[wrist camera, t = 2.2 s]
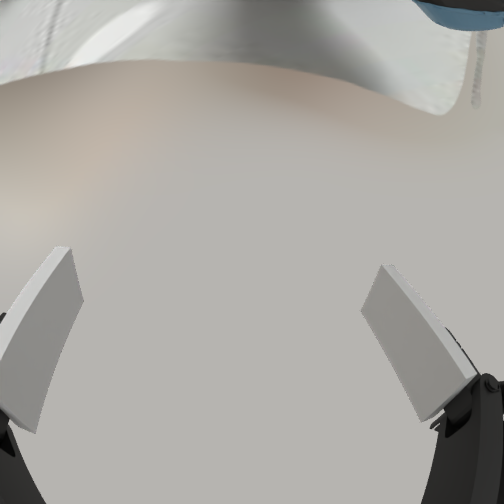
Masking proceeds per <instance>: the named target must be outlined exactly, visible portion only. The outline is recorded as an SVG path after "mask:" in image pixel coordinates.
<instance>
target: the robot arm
mask: <svg viewBox="0 0 504 504" xmlns="http://www.w3.org/2000/svg"><path fill="white" fill-rule="evenodd" d="M412 1H413V2H415V3H416V4H417V5H418V6H419V7H420V8H421V10H422V11H423V12H424V13H425V14H426V15H427V16H428V17H429V18H430V19H431V20H432V21H434V22H435V23H437V24H439V25H441V26H444V27H447V28H450V29H454V30H461V31H484V30H492V29H497V28H501V27H503V25H504V0H412ZM83 302H84V300H83V297H82V293H81V289H80V285H79V281H78V278H77V273H76V269H75V265H74V260H73V256H72V250H71V247H60V246H56V247H55V248H54V249H53V250H52V252H51V253H50V254H49V255H48V257H47V258H46V259H45V260H44V262H43V263H42V264H41V265H40V267H39V268H38V269H37V271H36V272H35V273H34V275H33V276H32V277H31V279H30V280H29V281H28V283H27V284H26V286H25V287H24V288H23V290H22V292H21V293H20V294H19V296H18V297H17V299H16V300H15V301H14V303H13V305H12V306H11V308H10V309H9V311H8V312H7V313H2V314H1V315H0V504H46V503H45V501H44V499H43V498H42V496H41V494H40V492H39V491H38V489H37V487H36V485H35V483H34V481H33V479H32V477H31V475H30V473H29V471H28V469H27V467H26V465H25V462H24V460H23V457H22V455H21V453H20V451H19V448H18V445H17V443H16V440H15V437H14V435H13V432H12V430H11V428H10V426H9V425H8V422H9V419H11V420H12V421H13V422H14V423H15V424H16V425H17V426H18V427H20V428H23V429H25V430H27V431H29V432H32V433H34V434H35V433H36V429H37V425H38V422H39V418H40V414H41V410H42V407H43V403H44V400H45V397H46V394H47V391H48V388H49V385H50V382H51V379H52V376H53V373H54V370H55V368H56V365H57V362H58V359H59V357H60V354H61V352H62V349H63V347H64V344H65V342H66V339H67V337H68V335H69V332H70V330H71V328H72V325H73V323H74V321H75V319H76V316H77V314H78V312H79V310H80V308H81V306H82V304H83ZM361 312H362V314H363V316H364V317H365V319H366V320H367V322H368V324H369V326H370V327H371V329H372V331H373V333H374V334H375V336H376V338H377V340H378V341H379V343H380V345H381V347H382V349H383V350H384V352H385V354H386V356H387V357H388V359H389V361H390V363H391V365H392V367H393V368H394V370H395V372H396V374H397V376H398V378H399V380H400V381H401V383H402V385H403V387H404V389H405V391H406V393H407V395H408V397H409V399H410V401H411V402H412V405H413V407H414V409H415V411H416V413H417V415H418V417H419V419H420V421H421V422H423V421H426V420H428V419H430V418H432V417H434V416H435V415H436V414H438V413H439V412H440V411H441V410H442V409H444V411H445V413H443V414H442V415H441V416H440V417H439V418H438V419H437V420H435V421H434V422H433V423H432V424H431V426H430V429H432V428H434V427H435V426H436V425H437V424H439V423H440V425H438V426H437V427H436V428H435V431H438V432H439V433H438V439H437V444H436V450H435V454H434V459H433V463H432V467H431V471H430V475H429V479H428V482H427V486H426V489H425V493H424V496H423V499H422V502H421V504H504V421H503V414H504V381H500V382H498V381H497V380H496V379H495V377H494V376H492V375H490V374H487V373H485V374H482V376H481V375H480V373H479V372H478V371H477V369H476V368H475V366H474V365H473V363H472V362H471V360H470V359H469V357H468V356H467V354H466V353H465V351H464V350H463V349H461V346H460V344H459V343H458V342H456V339H455V338H454V336H453V335H452V333H451V332H450V331H449V330H448V329H447V328H446V327H444V326H443V324H442V323H441V322H440V320H439V319H438V318H437V316H436V315H435V314H434V313H433V312H432V310H431V309H430V308H429V306H428V305H427V304H426V303H425V302H424V300H423V299H422V298H421V297H420V295H419V294H418V293H417V292H416V291H415V289H414V288H413V287H412V286H411V285H410V284H409V282H408V281H407V280H406V279H405V278H404V277H403V275H402V274H401V273H400V272H399V271H398V270H397V269H396V268H395V266H394V265H381V267H380V269H379V271H378V274H377V276H376V279H375V281H374V283H373V285H372V288H371V290H370V292H369V294H368V297H367V299H366V301H365V303H364V305H363V307H362V309H361Z"/></svg>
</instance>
